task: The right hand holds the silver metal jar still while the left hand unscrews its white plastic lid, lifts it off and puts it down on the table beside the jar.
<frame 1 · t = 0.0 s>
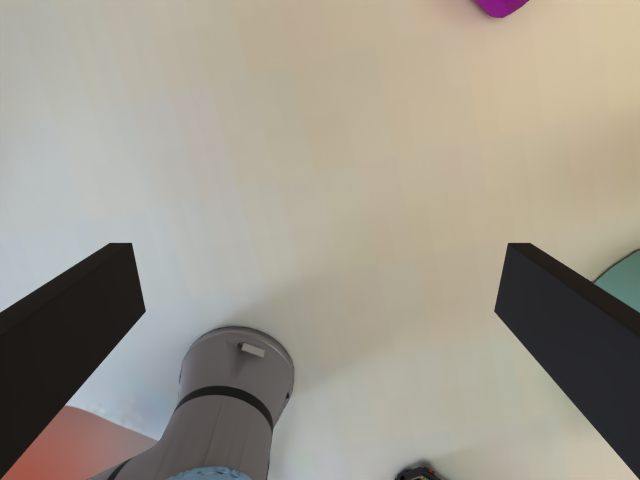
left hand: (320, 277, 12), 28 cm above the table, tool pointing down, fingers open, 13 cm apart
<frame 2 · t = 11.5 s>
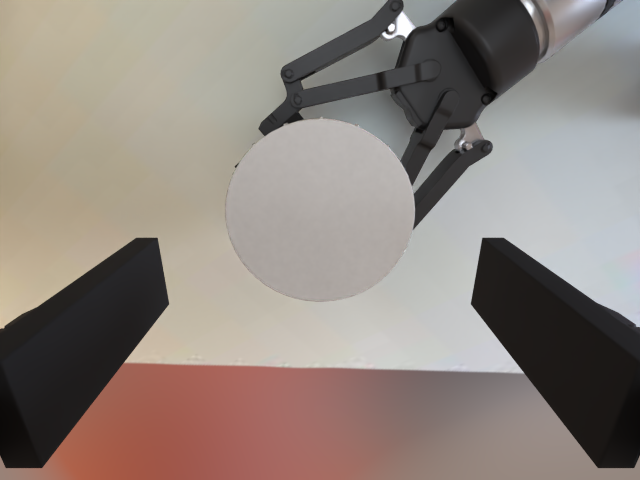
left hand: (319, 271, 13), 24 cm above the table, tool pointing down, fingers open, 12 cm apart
right hand: (281, 211, 31), fingers closed on jar, 9 cm apart
lid: (320, 217, 19), point 17 cm above the table, screwed on, not yet turned
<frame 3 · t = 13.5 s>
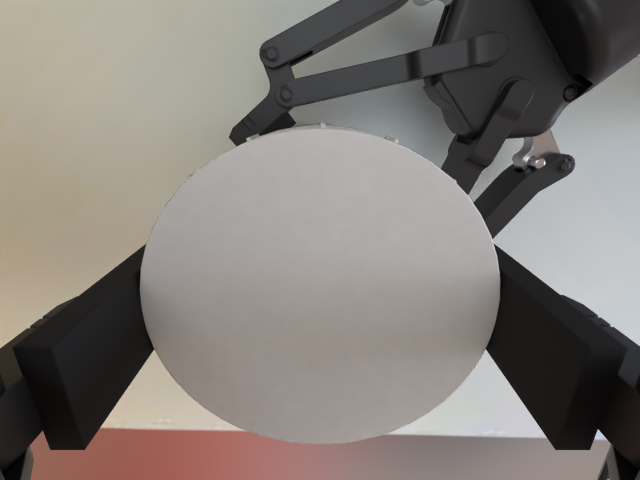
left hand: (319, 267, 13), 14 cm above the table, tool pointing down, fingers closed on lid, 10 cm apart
right hand: (264, 253, 22), fingers closed on jar, 9 cm apart
lid: (320, 308, 10), point 17 cm above the table, screwed on, not yet turned, touching left hand
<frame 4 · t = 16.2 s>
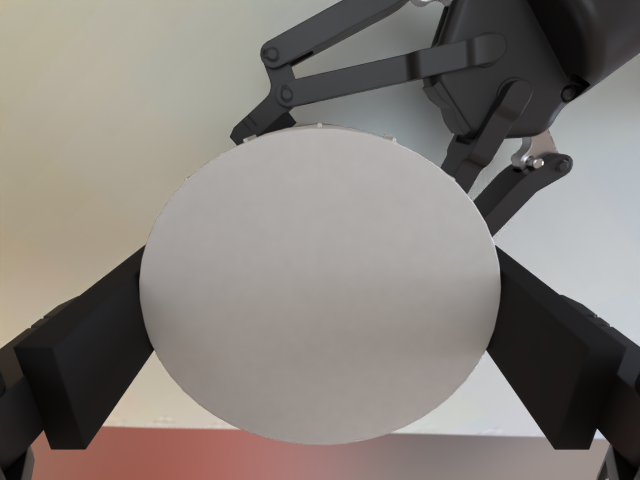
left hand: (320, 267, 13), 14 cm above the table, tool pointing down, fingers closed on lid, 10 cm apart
right hand: (265, 252, 22), fingers closed on jar, 9 cm apart
lid: (320, 309, 10), point 17 cm above the table, turned 65° so far, risen 0.2 cm, still on its thread, touching left hand
when the left hand's fingers open (0 cm above the table, at t = 22.9 s): lid drops 2 cm, point 2 cm above the table.
when the right hand's fingers open (6 cm above the table, at t = 23.9 s): jar stays where it is, on the table.
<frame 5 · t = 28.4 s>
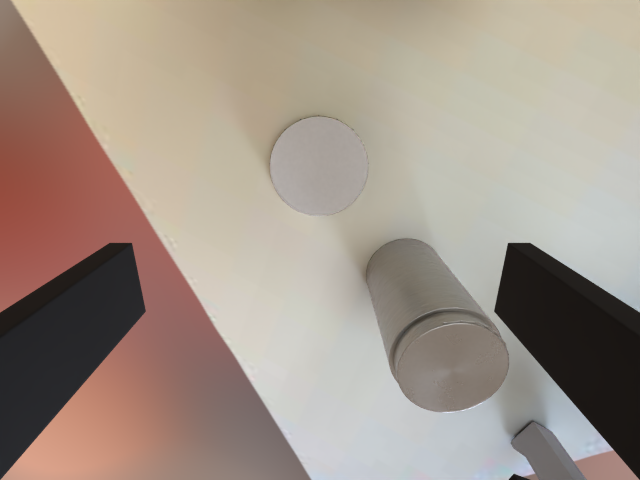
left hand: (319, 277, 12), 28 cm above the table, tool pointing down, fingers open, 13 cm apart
vintage mobile phone: (529, 434, 52), on the table
lid: (319, 168, 37), point 2 cm above the table, off its thread
jar: (403, 273, 43), on the table
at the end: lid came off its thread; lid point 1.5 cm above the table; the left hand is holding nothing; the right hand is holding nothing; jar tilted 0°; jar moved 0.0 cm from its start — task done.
